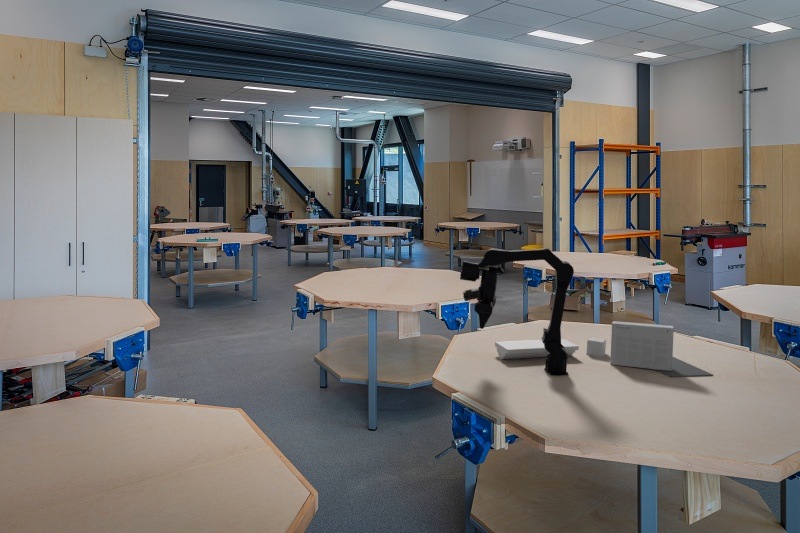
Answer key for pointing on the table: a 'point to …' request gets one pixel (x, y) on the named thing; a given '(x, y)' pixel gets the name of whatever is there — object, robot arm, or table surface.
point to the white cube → (596, 346)
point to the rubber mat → (684, 370)
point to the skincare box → (642, 345)
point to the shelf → (529, 349)
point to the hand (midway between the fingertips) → (482, 325)
